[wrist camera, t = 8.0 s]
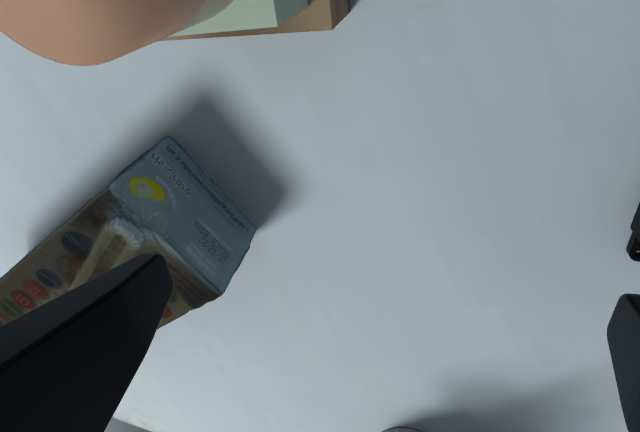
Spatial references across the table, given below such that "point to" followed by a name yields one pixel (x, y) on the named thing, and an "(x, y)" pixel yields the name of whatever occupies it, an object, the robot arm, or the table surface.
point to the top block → (249, 16)
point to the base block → (292, 21)
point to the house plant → (401, 430)
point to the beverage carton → (139, 237)
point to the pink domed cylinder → (98, 25)
